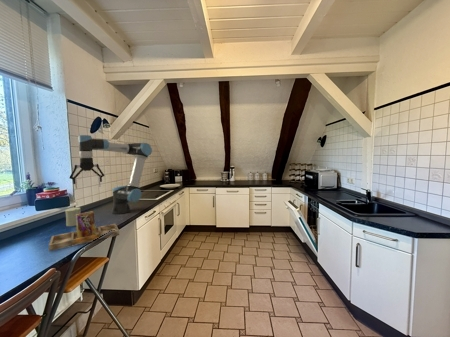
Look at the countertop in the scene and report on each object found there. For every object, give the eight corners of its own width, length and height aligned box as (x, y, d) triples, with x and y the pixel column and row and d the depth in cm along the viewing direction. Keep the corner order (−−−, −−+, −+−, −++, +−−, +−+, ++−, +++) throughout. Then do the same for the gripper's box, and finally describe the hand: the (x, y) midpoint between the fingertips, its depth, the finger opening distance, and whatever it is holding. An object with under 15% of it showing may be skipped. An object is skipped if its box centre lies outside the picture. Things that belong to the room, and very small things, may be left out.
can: (73, 226, 143) (72, 210, 142) (62, 225, 145) (61, 209, 144) (84, 222, 152) (83, 207, 151) (74, 221, 154) (73, 206, 153)
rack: (115, 228, 140) (115, 223, 139) (119, 235, 127) (119, 230, 127) (52, 241, 120) (51, 235, 119) (49, 251, 107) (48, 245, 107)
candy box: (93, 233, 128) (92, 210, 127) (95, 235, 125) (94, 211, 124) (77, 238, 121) (75, 214, 120) (79, 240, 119) (77, 215, 117)
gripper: (106, 157, 149) (108, 184, 151) (63, 157, 134) (66, 188, 136) (107, 157, 143) (109, 186, 145) (63, 158, 128) (65, 190, 130)
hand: (88, 187), depth 140 cm, fingers open, 13 cm apart
